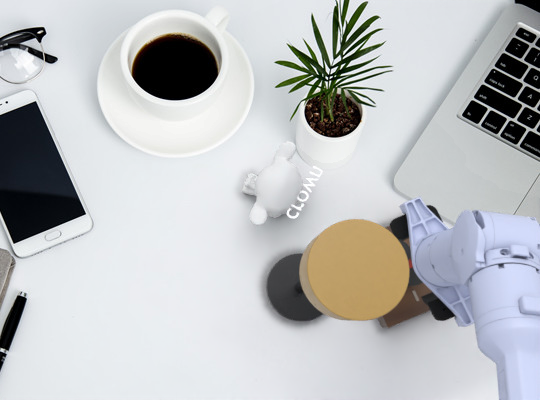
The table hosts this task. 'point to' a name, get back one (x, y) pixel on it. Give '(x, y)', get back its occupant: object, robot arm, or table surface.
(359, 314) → the desk lamp
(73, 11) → the table surface
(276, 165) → the figurine
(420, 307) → the dial panel
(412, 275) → the dial knob
